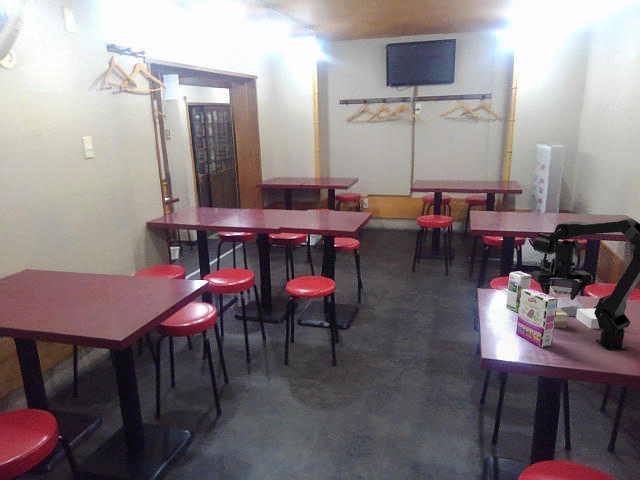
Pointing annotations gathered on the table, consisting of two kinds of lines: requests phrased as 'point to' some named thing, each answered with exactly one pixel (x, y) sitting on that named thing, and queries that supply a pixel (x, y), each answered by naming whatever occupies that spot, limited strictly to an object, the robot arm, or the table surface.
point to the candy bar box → (536, 317)
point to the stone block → (569, 306)
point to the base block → (588, 318)
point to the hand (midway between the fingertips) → (558, 299)
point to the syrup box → (516, 289)
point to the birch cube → (560, 318)
